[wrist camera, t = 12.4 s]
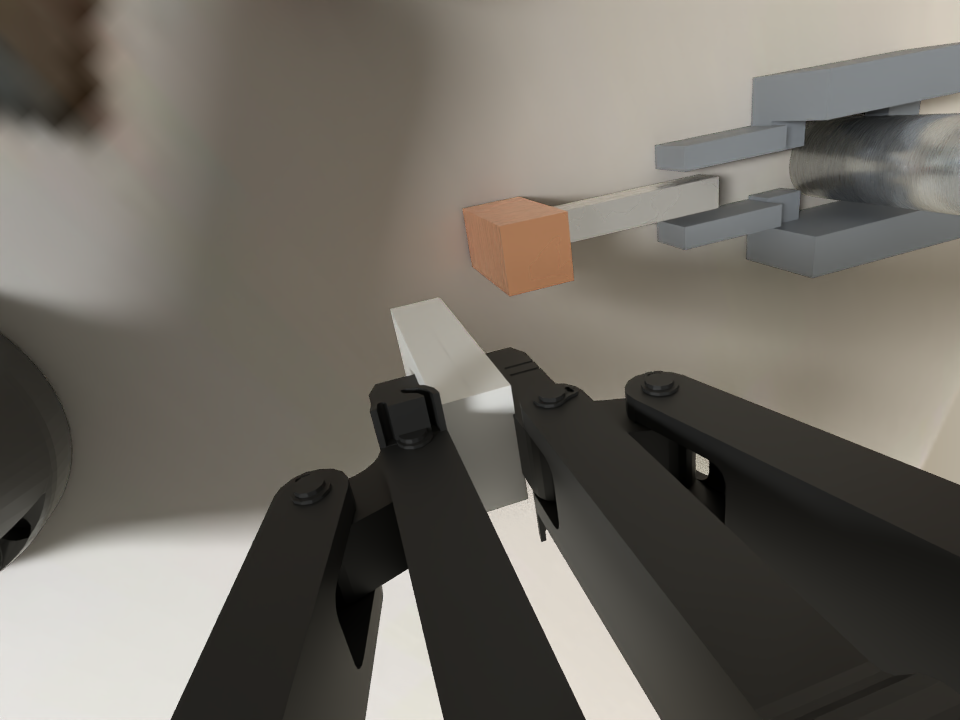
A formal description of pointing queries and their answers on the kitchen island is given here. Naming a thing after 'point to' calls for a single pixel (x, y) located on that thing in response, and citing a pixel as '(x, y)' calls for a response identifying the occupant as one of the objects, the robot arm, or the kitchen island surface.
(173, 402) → the kitchen island surface
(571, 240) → the pin
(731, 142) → the mount
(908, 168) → the grey cylinder
